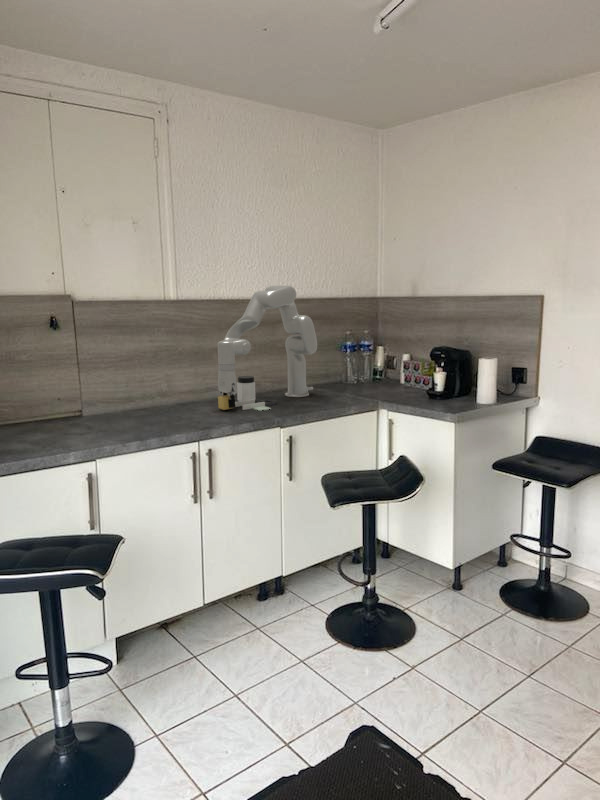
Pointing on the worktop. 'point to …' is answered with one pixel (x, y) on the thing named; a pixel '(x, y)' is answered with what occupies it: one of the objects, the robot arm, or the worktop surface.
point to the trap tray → (267, 402)
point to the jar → (245, 388)
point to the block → (223, 402)
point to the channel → (249, 404)
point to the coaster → (261, 408)
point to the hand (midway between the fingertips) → (228, 406)
